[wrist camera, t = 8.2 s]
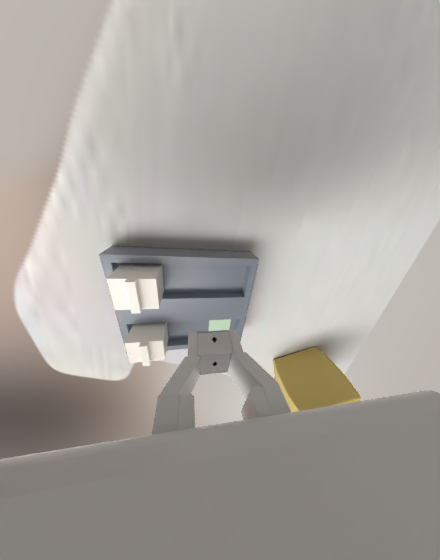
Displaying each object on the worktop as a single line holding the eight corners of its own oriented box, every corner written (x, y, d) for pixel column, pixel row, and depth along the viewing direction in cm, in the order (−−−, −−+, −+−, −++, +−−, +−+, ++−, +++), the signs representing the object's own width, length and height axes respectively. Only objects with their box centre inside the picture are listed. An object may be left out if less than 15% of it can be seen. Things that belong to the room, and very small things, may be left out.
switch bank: (111, 246, 17) (99, 254, 14) (250, 251, 20) (258, 259, 18) (133, 337, 23) (127, 353, 21) (235, 330, 26) (239, 344, 24)
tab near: (121, 263, 16) (102, 282, 13) (161, 264, 17) (154, 282, 13) (127, 290, 18) (112, 314, 14) (164, 290, 19) (158, 312, 15)
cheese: (313, 370, 38) (350, 421, 29) (271, 383, 37) (296, 439, 29) (318, 343, 33) (364, 396, 24) (269, 358, 32) (299, 417, 24)
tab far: (134, 320, 20) (122, 348, 16) (166, 319, 21) (162, 345, 17) (138, 339, 21) (128, 367, 18) (168, 337, 22) (164, 364, 19)
